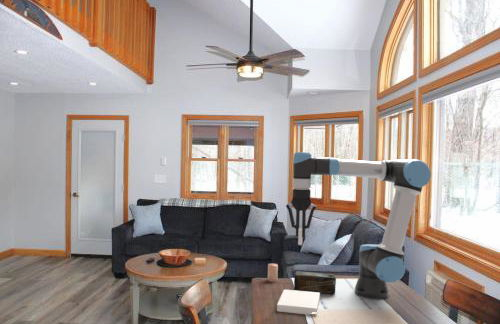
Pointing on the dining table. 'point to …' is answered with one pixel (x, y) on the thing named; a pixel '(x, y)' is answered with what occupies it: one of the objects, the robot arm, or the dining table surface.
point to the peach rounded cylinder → (272, 272)
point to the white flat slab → (298, 302)
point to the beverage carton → (315, 282)
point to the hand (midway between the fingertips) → (300, 244)
